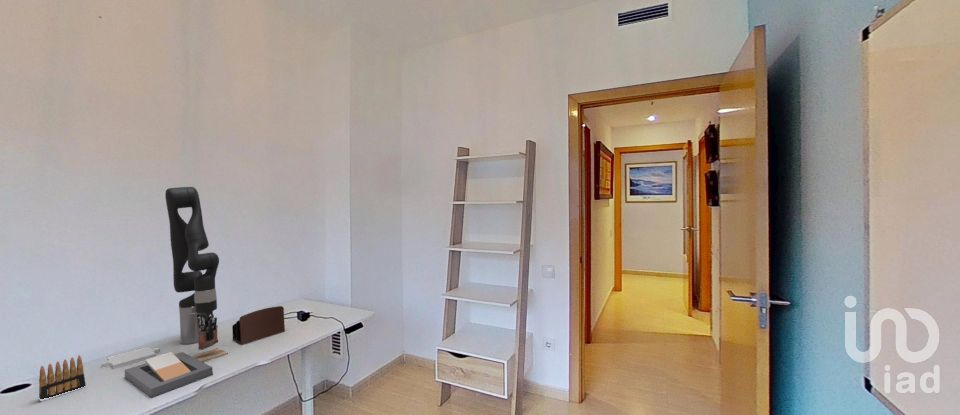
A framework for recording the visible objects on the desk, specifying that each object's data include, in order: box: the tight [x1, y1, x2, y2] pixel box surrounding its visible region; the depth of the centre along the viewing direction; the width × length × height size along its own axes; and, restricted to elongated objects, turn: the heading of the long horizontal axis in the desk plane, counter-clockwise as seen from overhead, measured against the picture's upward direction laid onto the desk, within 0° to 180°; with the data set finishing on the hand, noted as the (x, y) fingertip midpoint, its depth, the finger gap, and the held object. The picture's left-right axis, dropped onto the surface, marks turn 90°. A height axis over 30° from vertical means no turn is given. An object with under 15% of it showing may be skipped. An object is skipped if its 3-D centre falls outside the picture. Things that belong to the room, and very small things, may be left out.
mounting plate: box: [100, 346, 161, 370], centre depth 154 cm, size 18×13×2 cm
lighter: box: [197, 324, 219, 351], centre depth 155 cm, size 8×3×10 cm, turn 167°
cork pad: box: [190, 347, 228, 363], centre depth 155 cm, size 10×10×1 cm
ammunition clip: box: [38, 355, 87, 399], centre depth 127 cm, size 11×2×12 cm, turn 153°
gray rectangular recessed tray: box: [123, 351, 214, 398], centre depth 138 cm, size 28×18×3 cm, turn 58°
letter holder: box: [231, 305, 286, 346], centre depth 177 cm, size 10×20×14 cm, turn 144°
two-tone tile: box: [144, 351, 191, 381], centre depth 138 cm, size 20×8×1 cm, turn 59°
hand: (207, 339), depth 155 cm, fingers closed on lighter, 4 cm apart
